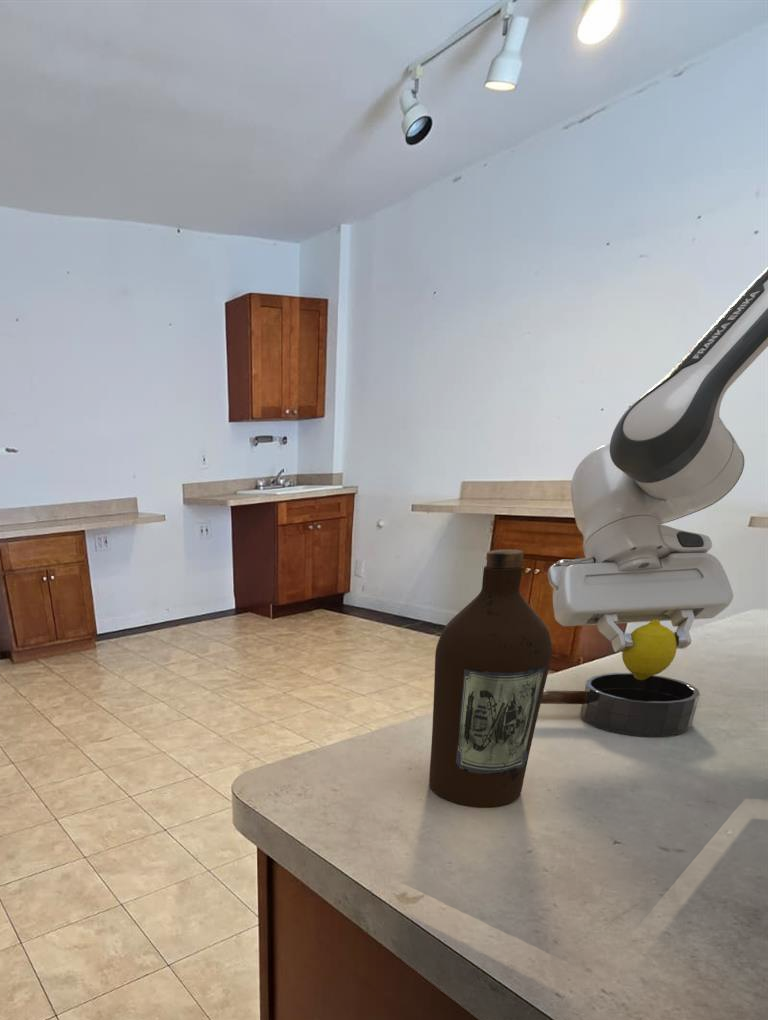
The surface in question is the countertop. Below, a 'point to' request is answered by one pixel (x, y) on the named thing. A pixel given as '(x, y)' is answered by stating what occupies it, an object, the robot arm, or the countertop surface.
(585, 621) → the robot arm
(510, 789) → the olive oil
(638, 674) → the fruit
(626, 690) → the pan
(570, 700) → the pan handle
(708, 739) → the countertop surface
